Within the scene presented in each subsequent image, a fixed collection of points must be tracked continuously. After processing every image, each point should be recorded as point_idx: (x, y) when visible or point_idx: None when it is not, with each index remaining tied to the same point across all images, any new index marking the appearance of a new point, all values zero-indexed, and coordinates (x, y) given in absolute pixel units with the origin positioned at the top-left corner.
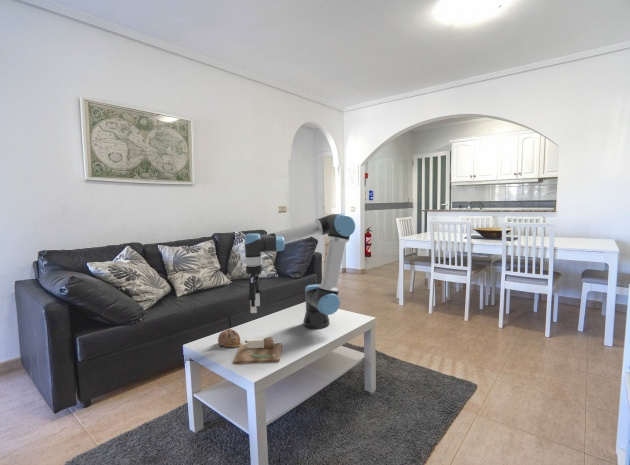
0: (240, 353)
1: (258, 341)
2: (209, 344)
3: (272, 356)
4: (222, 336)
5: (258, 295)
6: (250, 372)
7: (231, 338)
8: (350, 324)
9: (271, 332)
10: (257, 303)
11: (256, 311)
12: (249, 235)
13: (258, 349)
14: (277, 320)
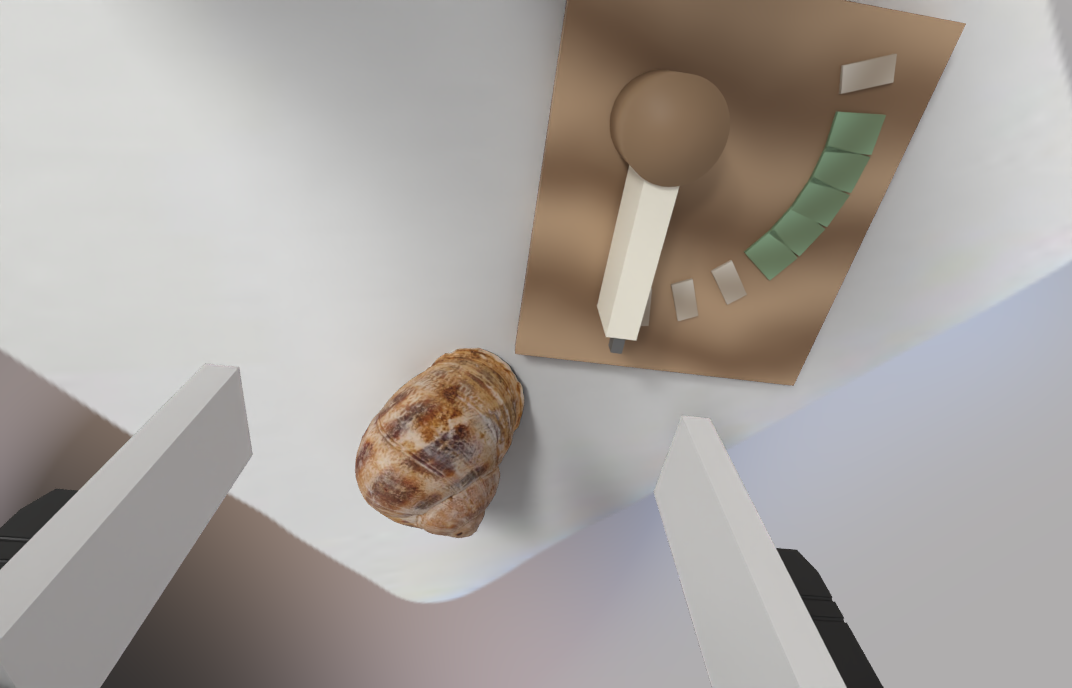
0: (684, 350)
1: (662, 236)
2: None
3: (869, 91)
4: (484, 511)
5: (65, 595)
6: (971, 268)
7: (497, 446)
8: None
9: (171, 63)
10: (215, 441)
11: (700, 431)
12: None
13: None
14: None
